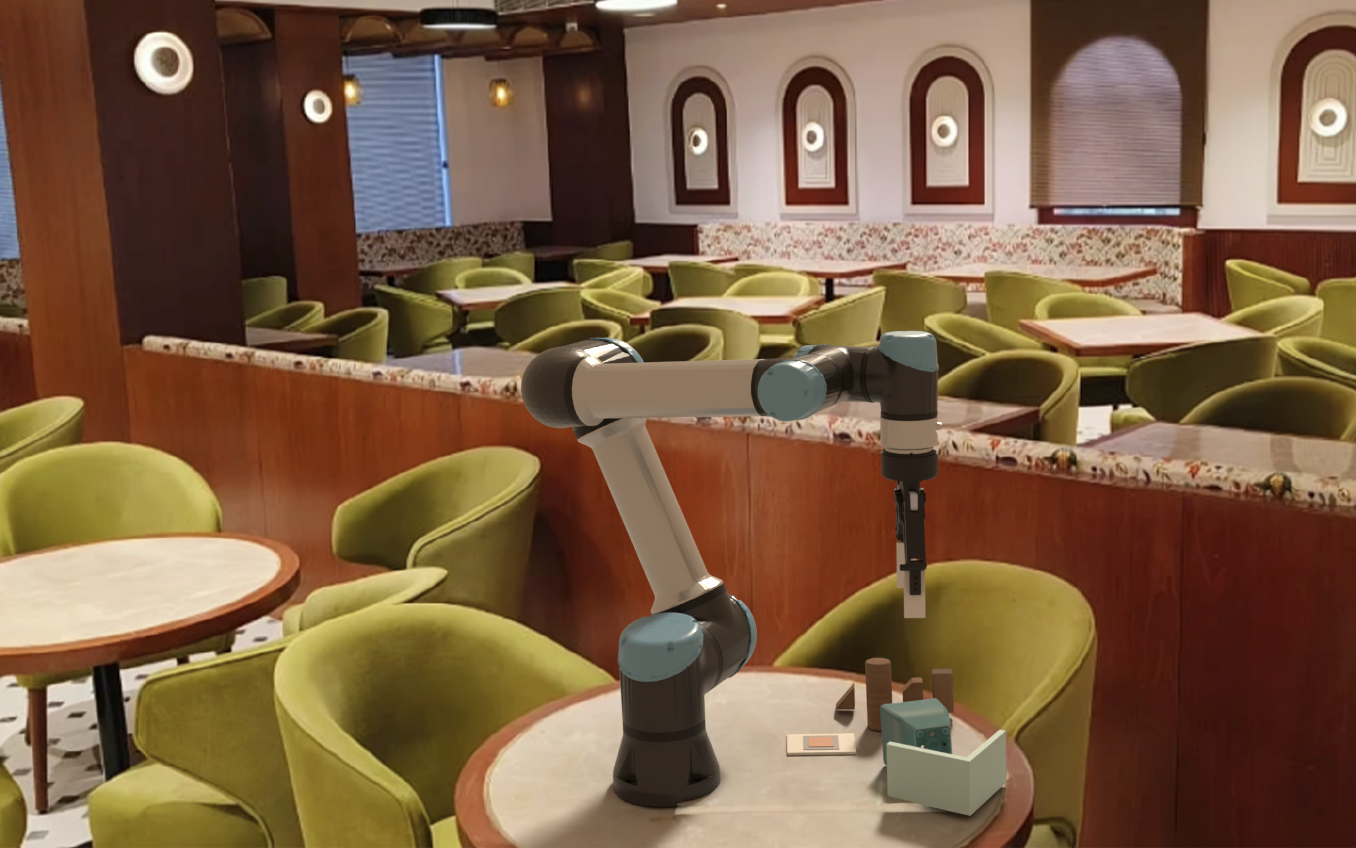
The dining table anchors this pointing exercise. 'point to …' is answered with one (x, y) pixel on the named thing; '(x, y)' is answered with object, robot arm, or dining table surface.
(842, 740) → the card
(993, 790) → the right angle wall
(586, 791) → the dining table surface
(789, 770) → the dining table surface
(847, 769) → the dining table surface
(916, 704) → the flower pot
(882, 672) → the wooden block set
